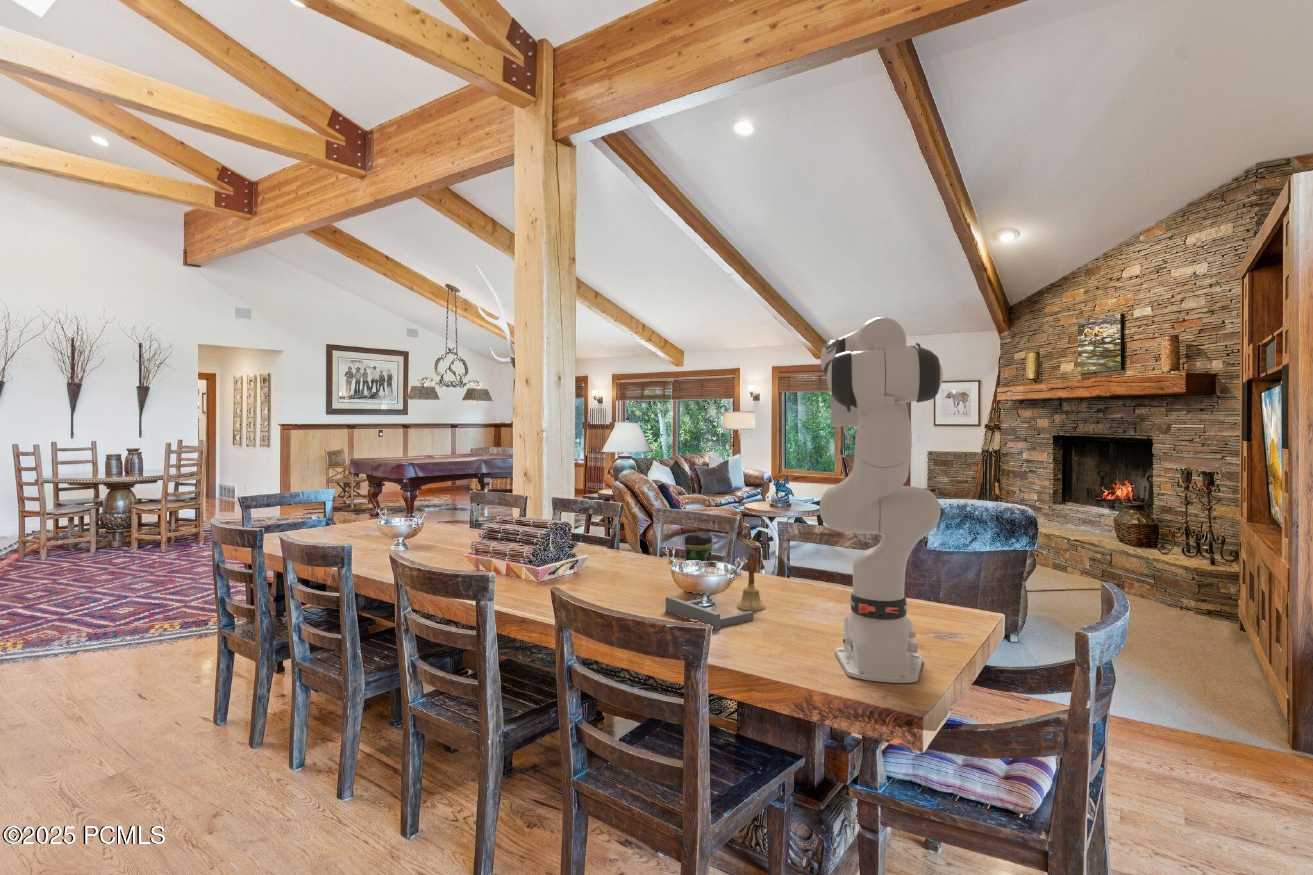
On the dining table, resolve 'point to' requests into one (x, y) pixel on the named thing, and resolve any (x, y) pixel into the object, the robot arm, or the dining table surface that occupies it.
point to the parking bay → (704, 613)
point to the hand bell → (751, 590)
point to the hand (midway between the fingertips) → (867, 444)
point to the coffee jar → (698, 546)
